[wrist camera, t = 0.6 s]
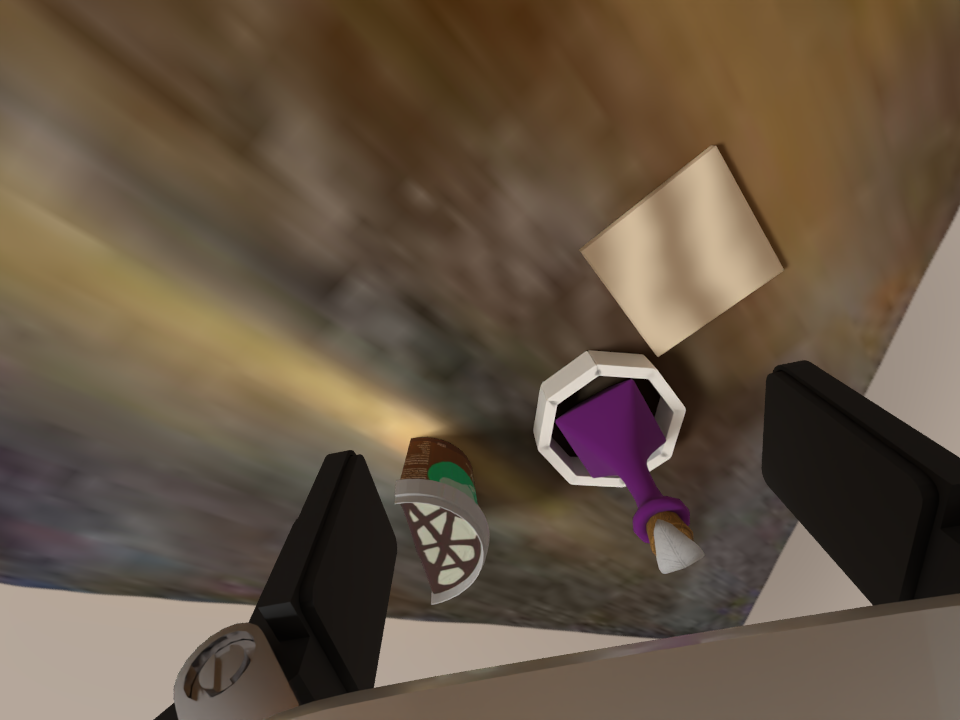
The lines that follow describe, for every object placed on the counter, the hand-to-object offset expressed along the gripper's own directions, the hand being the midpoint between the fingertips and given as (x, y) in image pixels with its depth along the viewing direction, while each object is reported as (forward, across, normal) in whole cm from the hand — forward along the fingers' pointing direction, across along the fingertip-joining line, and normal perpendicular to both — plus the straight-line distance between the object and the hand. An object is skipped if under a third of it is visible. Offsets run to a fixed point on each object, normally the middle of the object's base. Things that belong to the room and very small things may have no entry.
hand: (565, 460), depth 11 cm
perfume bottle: (+29, -6, +18) cm, 35 cm away
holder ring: (+29, -6, +18) cm, 35 cm away
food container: (+29, +9, +22) cm, 37 cm away
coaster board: (+29, -14, +5) cm, 33 cm away
